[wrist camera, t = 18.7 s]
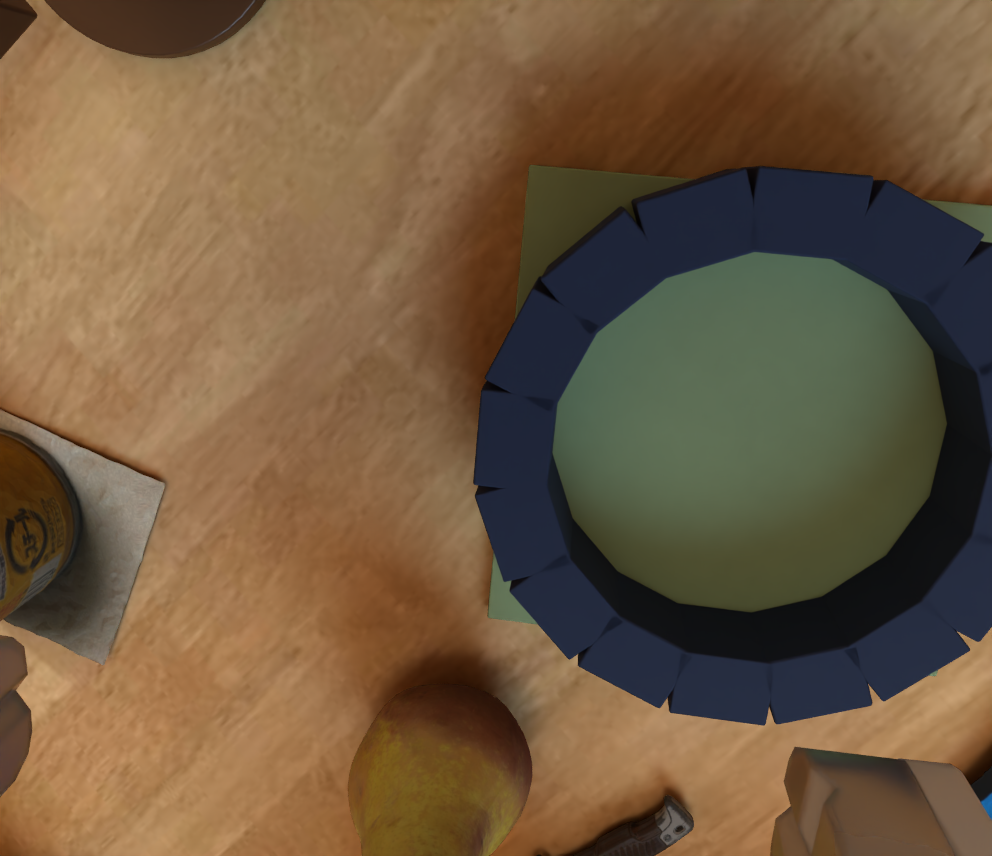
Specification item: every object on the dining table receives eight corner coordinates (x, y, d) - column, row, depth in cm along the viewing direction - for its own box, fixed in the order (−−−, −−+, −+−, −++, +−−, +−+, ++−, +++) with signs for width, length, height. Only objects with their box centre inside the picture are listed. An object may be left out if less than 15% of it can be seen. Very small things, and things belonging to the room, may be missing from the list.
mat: (530, 164, 25) (528, 164, 24) (1047, 210, 24) (1057, 211, 23) (488, 611, 29) (486, 618, 28) (930, 668, 27) (937, 677, 27)
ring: (512, 147, 24) (500, 143, 21) (1081, 197, 23) (1150, 199, 20) (470, 633, 28) (456, 684, 25) (948, 696, 27) (990, 757, 24)
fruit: (357, 656, 29) (204, 963, 18) (527, 644, 29) (481, 958, 17) (385, 798, 31) (260, 1166, 19) (548, 790, 30) (518, 1170, 18)
